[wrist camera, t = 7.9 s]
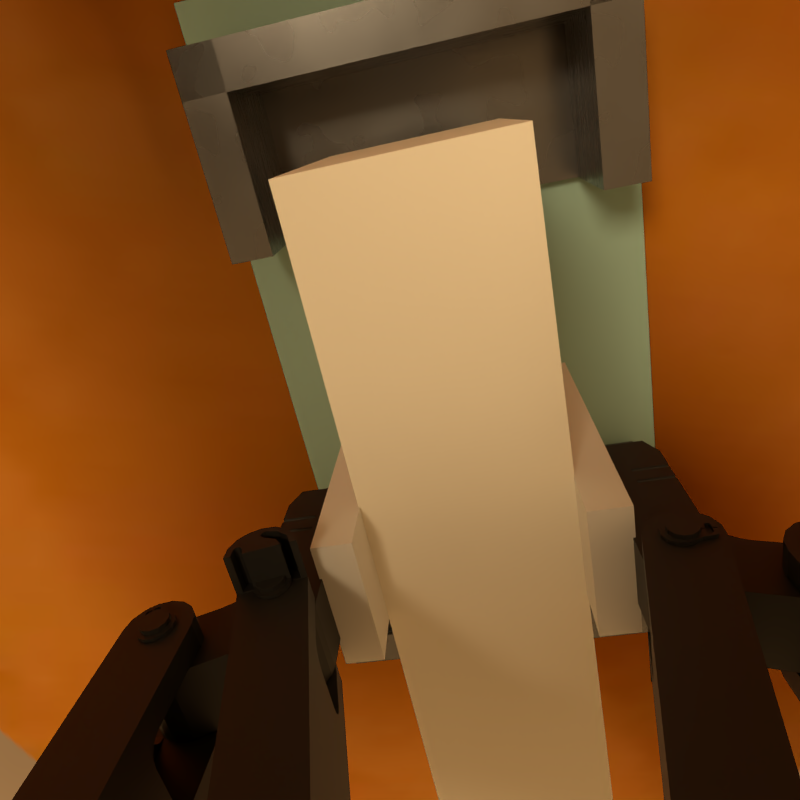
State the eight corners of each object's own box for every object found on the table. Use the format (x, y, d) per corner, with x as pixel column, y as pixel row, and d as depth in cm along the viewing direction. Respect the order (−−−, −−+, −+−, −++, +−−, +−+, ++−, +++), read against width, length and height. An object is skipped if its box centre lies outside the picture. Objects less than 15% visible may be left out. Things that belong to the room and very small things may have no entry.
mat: (178, 5, 19) (173, 3, 19) (622, -111, 18) (626, -115, 17) (359, 616, 29) (358, 622, 28) (659, 580, 27) (662, 587, 27)
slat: (330, 156, 15) (268, 179, 10) (499, 118, 15) (532, 120, 9) (444, 636, 21) (444, 820, 16) (567, 622, 21) (614, 807, 15)
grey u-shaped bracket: (217, 60, 20) (165, 50, 16) (600, -34, 18) (640, -69, 14) (267, 238, 22) (232, 264, 18) (613, 167, 20) (651, 180, 17)
